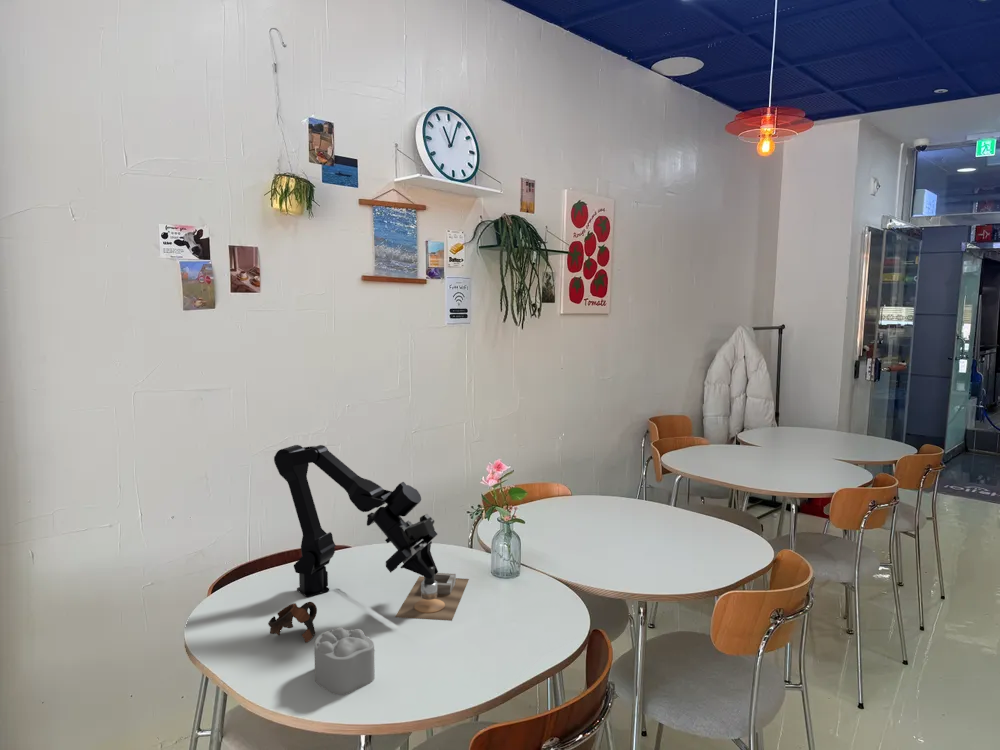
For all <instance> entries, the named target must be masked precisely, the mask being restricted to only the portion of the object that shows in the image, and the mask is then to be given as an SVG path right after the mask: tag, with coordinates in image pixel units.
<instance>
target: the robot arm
mask: <svg viewBox="0 0 1000 750" xmlns="http://www.w3.org/2000/svg"><path fill="white" fill-rule="evenodd" d="M273 461H274V465H275V467H276V469H277V472H278V473H279V474H278V475H280V477H282V478H283V479H284V480H285V481H286V483H287V485H288V487H289V491H290V494H291V498H292V501H293V504H294V508H295V512H296V515H297V519H298V521H299V522H298V523H299V526H300V528H301V529H300V530H301V533H302V538H301V542H300V543H301V544H300V550H301V557H300V558H299V559H298V560H297V561H296V562H295V563H294V564H293V568H294V572H295V573H297V574H298V577H299V581H298V582H299V583H298V584H299V585H298V586H299V587H296V590H297V591H298V592H299V593H301V594H302V595H303V596H305V597H306V598H309V597H313V596H317V595H320V594H322V593H326V592H327V593H328V592H330V588H329V587H328V586H329V578H328V577H329V574H328V571H327V566H326V565H328V564H330V561H331V559H332V558H333V557H334V554H335V553H336V552H335V551H336V549H335V547H337V545H336V543H335V542H334V539H333V538H334V537H333V534H332V532H331V531H329V532H328V533H327V532H326V531H325V530H324V529H323V528H322V526H321V523H320V518H319V515H318V511H317V508H316V504H315V502H314V501H315V500H314V498H313V495H312V491H311V488H310V485H309V484H310V483H309V480H308V477H307V476H308V471H309V464H312V463H313V464H314V465H315V466H317V468H319V469H320V470H321V471H322V472H323V473H324V474H326V475H327V476H328V477H329V478H331V479H332V480H333V481H334V482H335V483H337V484H338V486H340V487H341V488H342V489H344V491H346V493H347V495H348V498H349V500H350V502H351V503H352V504H353V505H354V506H355V507H356V509H358V510H359V511H360V512H362V513H368V512H370V511H371V512H370V513H368V514H367V515H366V516H367V520H366V526H367V527H370V526H371V525H372V524H374V523H375V525H377V527H378V528H379V529H380V530H381V532H382V534H384V535H385V536H386V539H384V541H385V542H386V544H388V543H391V544H392V545H393V546H394V547H395V549H396V551H395V552H394V553H393V554H392V555H391V556H390V557H389V558H388V559H387V560H386V561H385V568H386V569H387V570H388V571H389V573H392V572H394V571H395V570H396V569H398V567H399V566H400V569H405V570H408V571H411V572H413V573H415V574H417V575H420V576H423V577H426V578H429V579H431V578H432V577H433V575H432V573H431V572H430V570H429V569H428V567H427V565H432V566H434V567H435V574H437V573H439V571H438V568H437V566H436V562H435V560H434V558H433V556H432V555H433V554H432V552H431V546H432V544H433V542H432V540H433V539H434V538H435V537H437V536H438V532H436V530H435V527H434V524H435V520H434V519H433V518H432V517H431V516H430V515H429V514H428V513H425V514H423V515H422V516H420V517H419V521H417V522H415V523H412V522H411V521H409V520H407V521H405V520H404V518H402V517H406V516H407V515H409V513H410V512H412V511H413V510H414V509H415V507H417V505H419V504H420V503H421V501H422V497H421V494H420V492H419V491H418V490H417V488H414V487H413V486H411V485H409V484H406V482H404V481H402V482H399V484H398V485H397V486H395V488H394V489H393V491H392V490H388V489H384V488H383V487H382V486H381V485H379V484H377V483H376V482H374V481H372V480H370V479H368V478H365V477H364V478H363V477H361V476H360V475H358V474H357V473H356V472H355V471H353V470H352V469H351V468H350V467H349V466H347V465H346V464H345V462H343V461H341V460H340V459H339V458H338V457H336V455H334V454H333V453H332V452H331V451H330V450H329V449H328V448H327V446H325V445H323V444H319V445H316V446H315V445H313V446H304V447H303V446H302V445H299V444H294V445H291V446H288V447H284V448H281V449H279V450H277V451H276V452H275V455H274V456H273ZM385 504H386V505H385ZM384 505H385V506H384ZM375 508H376V510H375V511H374V512H372V510H374V509H375ZM402 563H403V564H402ZM401 564H402V565H401Z"/></svg>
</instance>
